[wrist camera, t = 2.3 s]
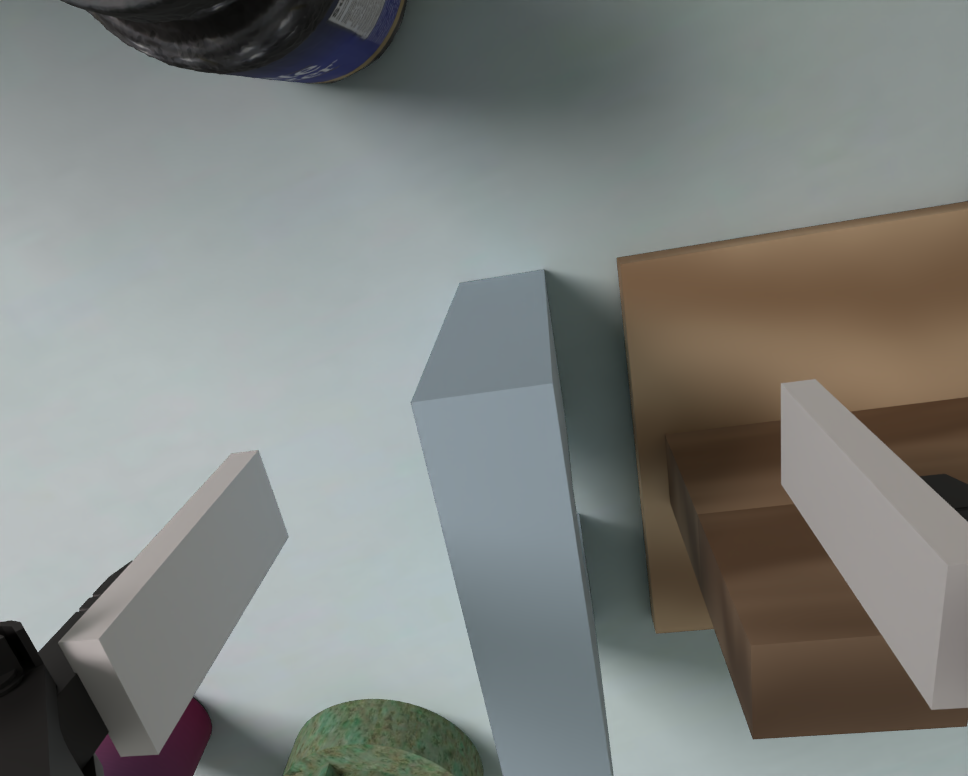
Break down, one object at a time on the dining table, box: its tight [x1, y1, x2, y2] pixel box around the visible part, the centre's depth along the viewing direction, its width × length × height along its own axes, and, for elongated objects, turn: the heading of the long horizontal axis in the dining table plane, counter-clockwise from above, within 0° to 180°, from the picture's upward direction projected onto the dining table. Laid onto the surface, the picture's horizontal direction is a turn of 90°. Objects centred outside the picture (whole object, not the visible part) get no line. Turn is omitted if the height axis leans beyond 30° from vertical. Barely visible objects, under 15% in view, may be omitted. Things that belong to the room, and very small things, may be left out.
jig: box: [617, 201, 968, 739], centre depth 19 cm, size 16×16×11 cm
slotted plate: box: [411, 270, 614, 776], centre depth 21 cm, size 16×3×10 cm, turn 10°
